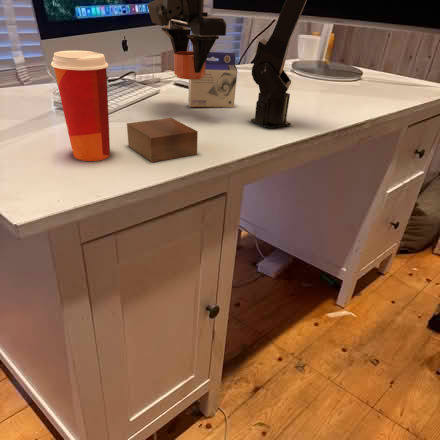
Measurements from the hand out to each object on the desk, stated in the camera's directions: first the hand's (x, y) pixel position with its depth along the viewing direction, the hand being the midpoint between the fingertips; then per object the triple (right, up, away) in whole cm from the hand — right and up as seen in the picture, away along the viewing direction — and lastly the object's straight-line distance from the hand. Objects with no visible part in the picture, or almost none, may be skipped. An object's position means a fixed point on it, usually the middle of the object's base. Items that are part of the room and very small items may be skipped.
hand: (188, 69), depth 90 cm
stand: (-4, -23, -15) cm, 28 cm away
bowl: (0, -1, +1) cm, 1 cm away
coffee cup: (-15, -25, -19) cm, 35 cm away
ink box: (+5, -3, +12) cm, 13 cm away
